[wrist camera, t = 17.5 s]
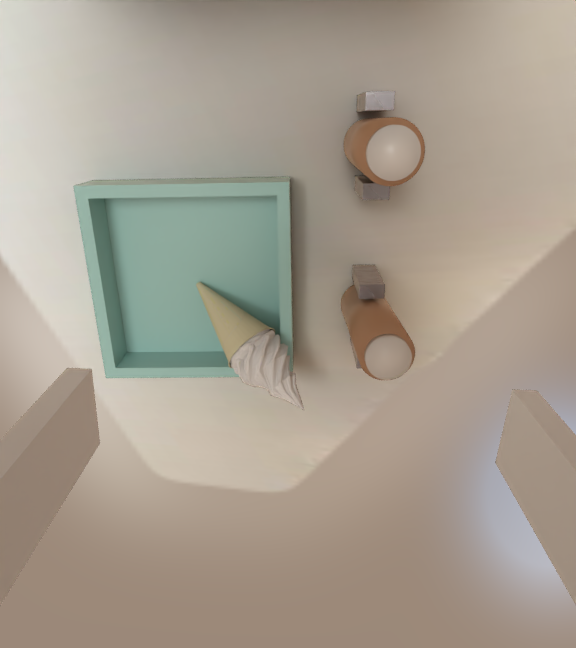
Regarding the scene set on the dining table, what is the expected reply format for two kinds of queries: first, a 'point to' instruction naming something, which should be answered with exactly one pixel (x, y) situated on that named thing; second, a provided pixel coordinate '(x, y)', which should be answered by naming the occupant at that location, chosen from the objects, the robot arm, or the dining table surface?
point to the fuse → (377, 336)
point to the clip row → (368, 275)
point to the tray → (183, 267)
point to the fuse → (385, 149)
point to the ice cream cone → (251, 347)
